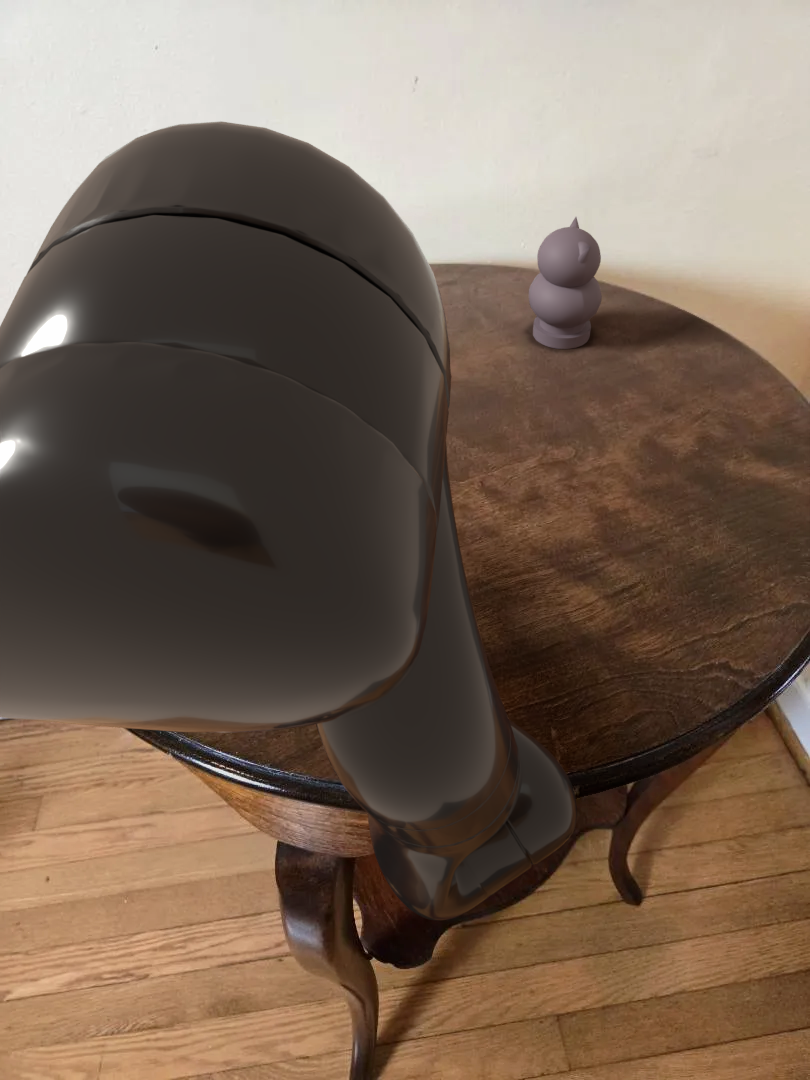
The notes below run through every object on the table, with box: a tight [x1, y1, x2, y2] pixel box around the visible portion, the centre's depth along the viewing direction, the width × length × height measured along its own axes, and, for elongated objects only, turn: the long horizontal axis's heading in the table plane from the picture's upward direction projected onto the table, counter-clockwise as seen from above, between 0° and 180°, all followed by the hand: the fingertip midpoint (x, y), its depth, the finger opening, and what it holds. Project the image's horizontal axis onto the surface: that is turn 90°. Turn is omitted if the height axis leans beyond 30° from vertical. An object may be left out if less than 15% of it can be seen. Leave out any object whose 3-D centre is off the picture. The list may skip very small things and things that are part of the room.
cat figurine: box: [528, 216, 603, 350], centre depth 91 cm, size 8×8×12 cm
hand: (250, 470), depth 64 cm, fingers open, 8 cm apart
